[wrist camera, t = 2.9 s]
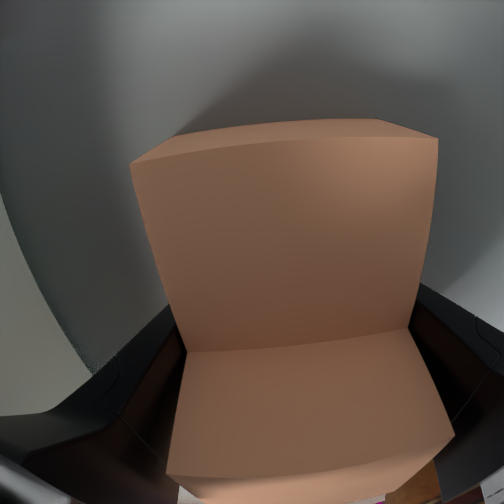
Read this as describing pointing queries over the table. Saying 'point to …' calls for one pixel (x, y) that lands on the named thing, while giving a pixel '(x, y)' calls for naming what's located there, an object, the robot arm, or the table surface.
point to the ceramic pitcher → (429, 490)
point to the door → (30, 339)
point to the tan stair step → (296, 307)
